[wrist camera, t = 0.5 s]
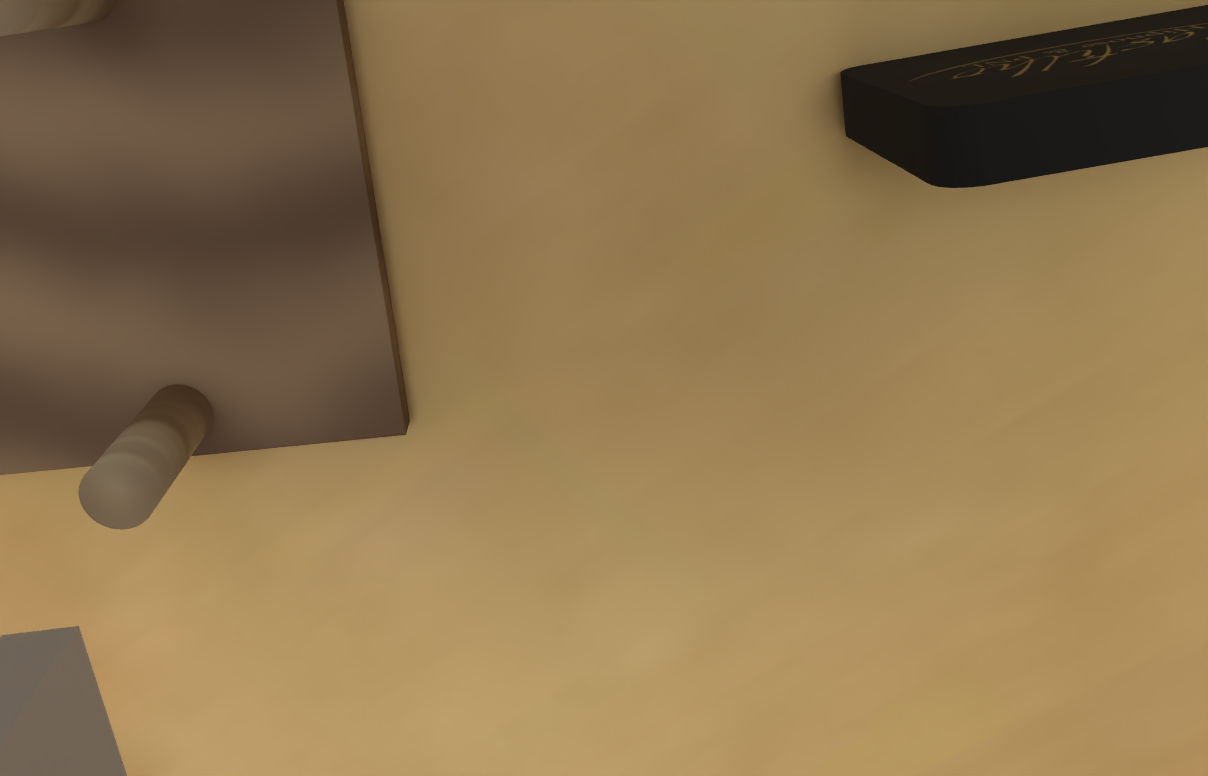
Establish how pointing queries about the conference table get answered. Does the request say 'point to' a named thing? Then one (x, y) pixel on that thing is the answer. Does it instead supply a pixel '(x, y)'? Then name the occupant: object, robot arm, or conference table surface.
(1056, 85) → the nameplate
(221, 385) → the rack
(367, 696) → the conference table surface
